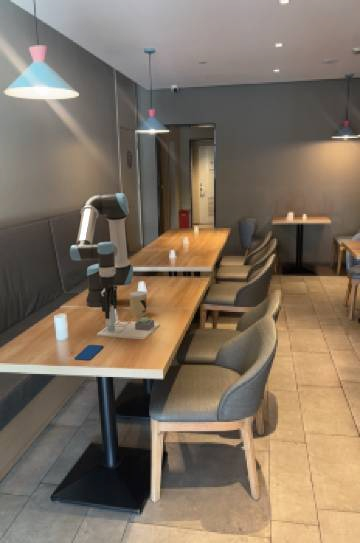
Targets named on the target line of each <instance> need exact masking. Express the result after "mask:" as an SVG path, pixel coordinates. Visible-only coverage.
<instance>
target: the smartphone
mask: <svg viewBox="0 0 360 543" xmlns="http://www.w3.org/2000/svg"><path fill="white" fill-rule="evenodd" d="M103 349H104V345H101V344H99V345H98V344H87V345H86V346H85V347H84V348H83V349H82V350H81V351H80V352H79V353H78V354H77V355H76V356H75V357H74V358H73V359H74V360H75V361H92V359H93V358H95V357H96V355H98V354H99V353H100V352H101V351H102V350H103Z"/></svg>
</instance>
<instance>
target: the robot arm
mask: <svg viewBox="0 0 360 543" xmlns="http://www.w3.org/2000/svg"><path fill="white" fill-rule="evenodd" d="M129 206H130V205H129V201H128V197H127V195H126V194H125V193H123V192H120V193H119V192H112V193H111V192H110V193H108V192H107V193H106V192H105V193H95V194H93V195H90V196H89V197H88V198H87V199H86V200H85V201H84V202H83V204H82V206H81V209H80V211H79V212H80V215H81V219H80V222H79V223H80V224H79V228H78V234H77V238H76V244H72V245H71V246H70V248H69V256H70V259H71V261H96V260H97V261H98V263H96V264H91V265H89V266H88V267H87V269H86V276H87V277H86V278H87V288H88V289H87V291H88V292H87V296H86V299H85V300H86V301H85V303H86V306H89V307H92V308H95V307H97V308H99V307H101V311H102V313H104V317H105V318H104V321H105V326H107V325H112V322H111V312H110V304H112V305H113V306H114V322H116V320H117V319H116V318H117V317H116V309H118V296H117V295H118V294H117V293H118V292H117V291H118V286H129V285H131V284H132V283H133V277H134V276H133V275H134V265H133V264H131V261H130V260H128V250H127V249H128V248H127V237H126V227H125V220H126V219H127V217H128V215H129V214H130V208H129ZM99 216H105V219H106V220H107V221H108V228H109V238H110V241H103V242H102V241H101V242H98V243H97V244H93V241H94V234H95V228H96V222H97V219H98V218H99Z"/></svg>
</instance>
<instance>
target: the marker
mask: <svg viewBox="0 0 360 543" xmlns="http://www.w3.org/2000/svg"><path fill="white" fill-rule="evenodd" d="M110 312H111V322H112V325H106V327H107V331H110V332H111V331H115V322H114V306H113V305H112V304H110Z"/></svg>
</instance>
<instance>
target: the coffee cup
mask: <svg viewBox="0 0 360 543" xmlns="http://www.w3.org/2000/svg"><path fill="white" fill-rule="evenodd" d="M147 295H148V294H147V292H146V291H143V290H137V291H132V292H129V294H128V297H129V303H130V313H131V316H132V317H134V318H143V317H146V315H147V297H148V296H147Z"/></svg>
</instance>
